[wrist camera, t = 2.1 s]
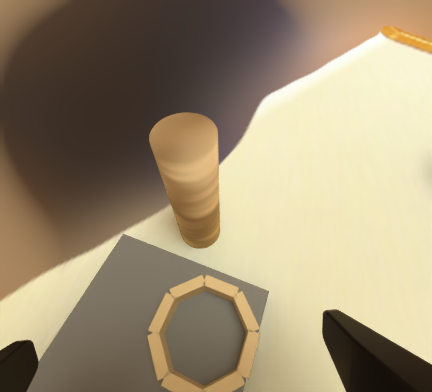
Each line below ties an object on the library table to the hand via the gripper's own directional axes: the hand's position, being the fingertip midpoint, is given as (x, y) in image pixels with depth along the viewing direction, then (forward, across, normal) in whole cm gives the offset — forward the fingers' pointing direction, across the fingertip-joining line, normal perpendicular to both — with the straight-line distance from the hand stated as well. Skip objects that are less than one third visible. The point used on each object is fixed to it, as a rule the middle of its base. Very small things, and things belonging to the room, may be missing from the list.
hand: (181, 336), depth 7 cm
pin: (+17, 0, +3) cm, 17 cm away
